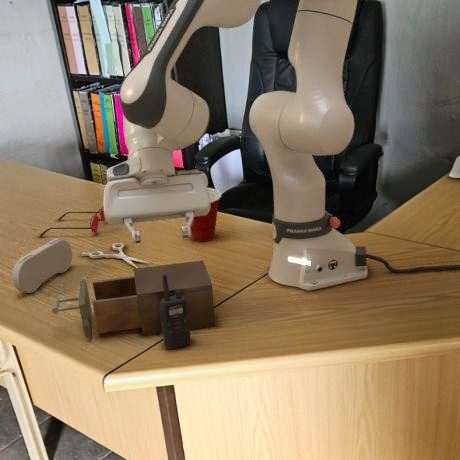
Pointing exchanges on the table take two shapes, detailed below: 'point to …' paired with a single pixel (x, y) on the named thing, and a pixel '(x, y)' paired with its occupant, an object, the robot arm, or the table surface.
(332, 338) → the table surface
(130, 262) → the scissors
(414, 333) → the table surface
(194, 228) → the plastic cup
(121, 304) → the drawer
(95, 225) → the glasses
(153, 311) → the cabinet
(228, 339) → the table surface
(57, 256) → the game controller
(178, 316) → the two-way radio
